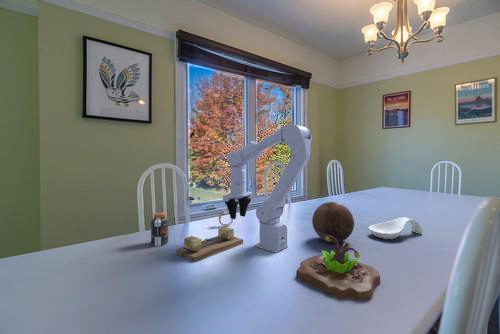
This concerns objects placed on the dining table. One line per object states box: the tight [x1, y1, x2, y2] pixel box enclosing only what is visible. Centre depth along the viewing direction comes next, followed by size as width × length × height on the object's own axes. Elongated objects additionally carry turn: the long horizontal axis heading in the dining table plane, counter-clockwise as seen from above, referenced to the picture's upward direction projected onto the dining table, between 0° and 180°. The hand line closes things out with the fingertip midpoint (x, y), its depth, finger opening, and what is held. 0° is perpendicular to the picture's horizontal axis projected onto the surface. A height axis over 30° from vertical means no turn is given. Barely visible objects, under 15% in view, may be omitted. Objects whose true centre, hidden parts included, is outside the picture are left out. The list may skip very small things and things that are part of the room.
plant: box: [295, 236, 381, 301], centre depth 67 cm, size 20×20×11 cm
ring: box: [218, 208, 234, 227], centre depth 115 cm, size 7×3×8 cm, turn 108°
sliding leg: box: [217, 226, 235, 239], centre depth 93 cm, size 6×3×4 cm, turn 50°
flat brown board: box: [175, 235, 244, 263], centre depth 88 cm, size 10×22×5 cm, turn 140°
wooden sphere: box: [311, 201, 355, 243], centre depth 96 cm, size 15×15×15 cm
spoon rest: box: [368, 217, 423, 240], centre depth 104 cm, size 24×12×7 cm, turn 109°
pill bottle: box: [150, 211, 169, 247], centre depth 92 cm, size 6×6×11 cm
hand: (237, 217), depth 98 cm, fingers open, 5 cm apart
